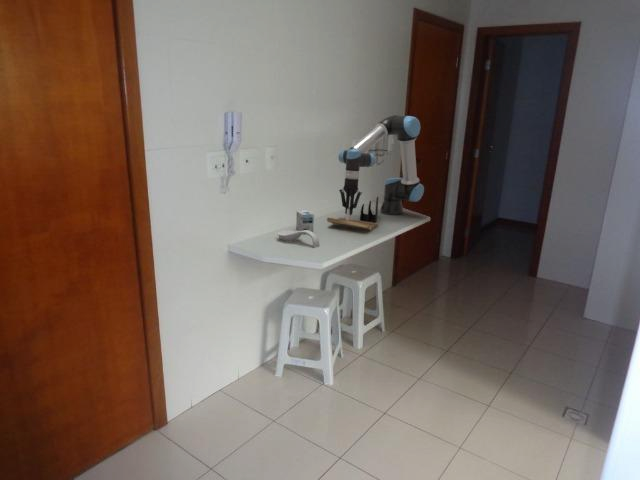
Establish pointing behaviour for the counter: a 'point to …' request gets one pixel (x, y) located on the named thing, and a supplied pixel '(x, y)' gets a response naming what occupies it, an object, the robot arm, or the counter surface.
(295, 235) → the white curved piece
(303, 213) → the light bulb box
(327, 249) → the counter surface
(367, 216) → the letter holder
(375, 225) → the walnut board
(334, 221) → the oak plank
